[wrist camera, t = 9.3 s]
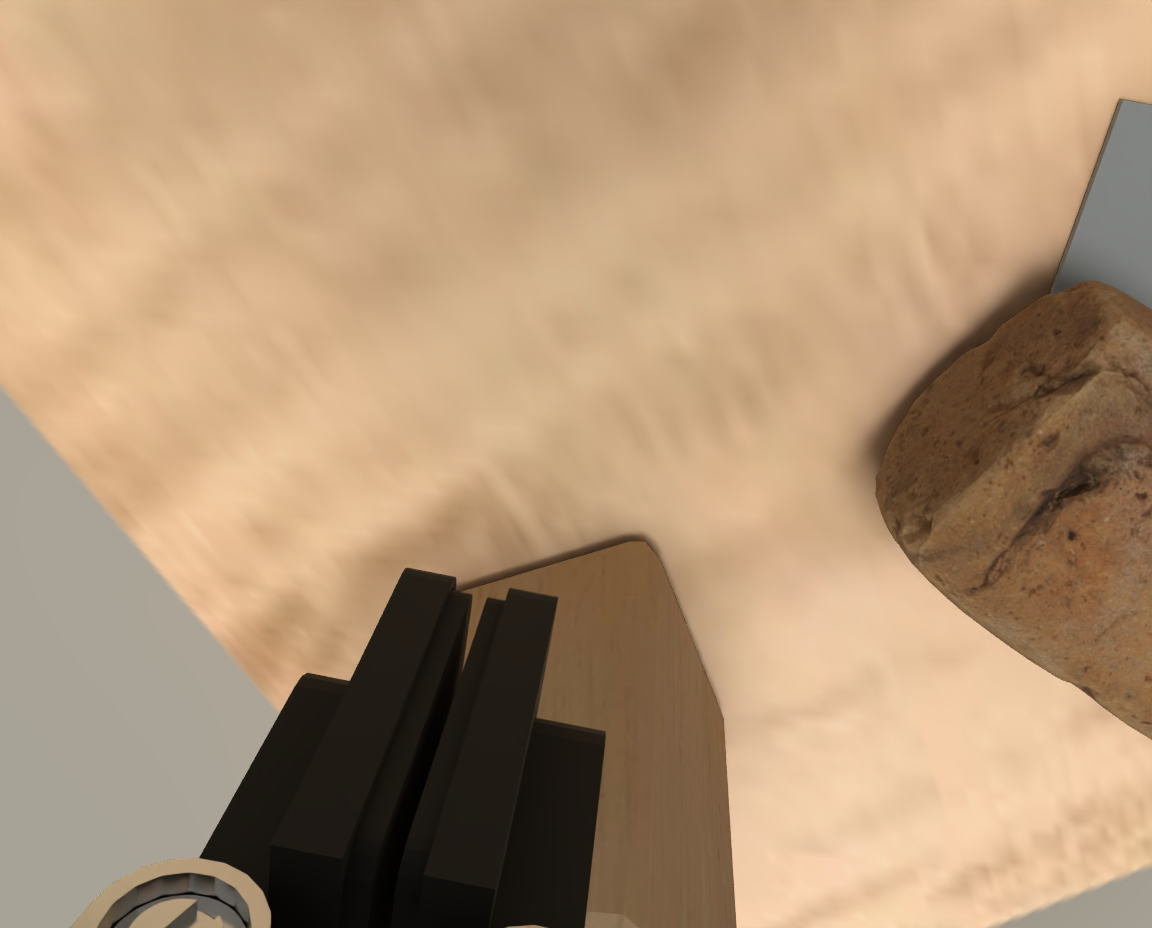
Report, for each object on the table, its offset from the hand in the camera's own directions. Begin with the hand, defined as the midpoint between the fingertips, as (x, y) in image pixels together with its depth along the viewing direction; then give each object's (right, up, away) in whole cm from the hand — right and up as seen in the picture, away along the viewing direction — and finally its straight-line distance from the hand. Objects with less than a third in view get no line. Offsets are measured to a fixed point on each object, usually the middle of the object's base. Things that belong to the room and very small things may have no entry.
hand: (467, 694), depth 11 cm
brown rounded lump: (+14, +5, +22) cm, 26 cm away
